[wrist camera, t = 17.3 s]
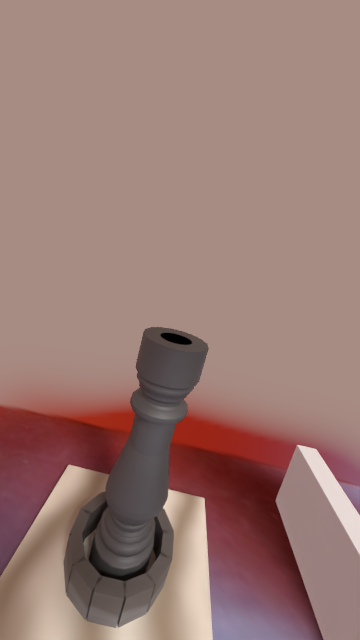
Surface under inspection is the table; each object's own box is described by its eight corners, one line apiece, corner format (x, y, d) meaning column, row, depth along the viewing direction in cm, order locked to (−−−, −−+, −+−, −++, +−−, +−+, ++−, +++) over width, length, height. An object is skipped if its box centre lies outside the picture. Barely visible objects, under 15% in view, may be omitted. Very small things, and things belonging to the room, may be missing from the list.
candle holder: (117, 613, 24) (187, 359, 18) (75, 560, 27) (124, 329, 21) (159, 557, 29) (223, 347, 23) (120, 518, 32) (168, 324, 26)
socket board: (201, 506, 38) (211, 478, 37) (212, 765, 18) (233, 721, 17) (67, 473, 38) (72, 443, 37) (-67, 699, 18) (-64, 650, 17)
